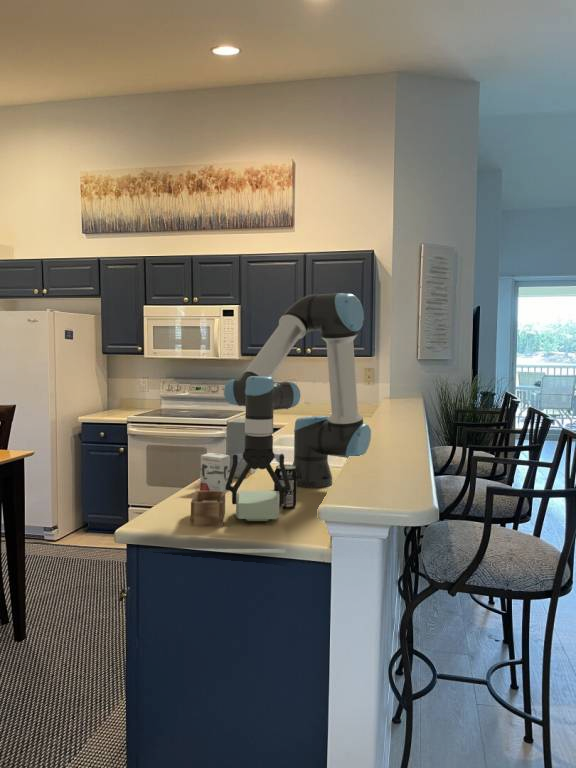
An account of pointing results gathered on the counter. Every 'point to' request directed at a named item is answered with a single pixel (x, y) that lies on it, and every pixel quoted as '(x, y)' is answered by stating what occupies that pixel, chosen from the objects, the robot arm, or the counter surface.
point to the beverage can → (290, 495)
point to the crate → (208, 509)
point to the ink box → (214, 472)
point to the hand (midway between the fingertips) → (257, 516)
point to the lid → (257, 505)
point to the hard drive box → (237, 444)
